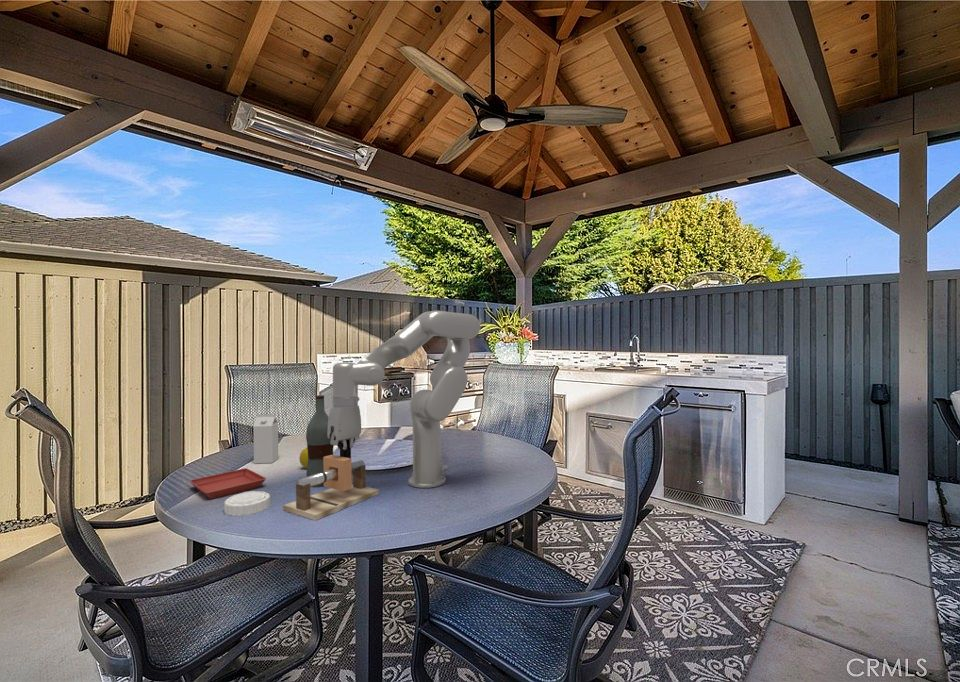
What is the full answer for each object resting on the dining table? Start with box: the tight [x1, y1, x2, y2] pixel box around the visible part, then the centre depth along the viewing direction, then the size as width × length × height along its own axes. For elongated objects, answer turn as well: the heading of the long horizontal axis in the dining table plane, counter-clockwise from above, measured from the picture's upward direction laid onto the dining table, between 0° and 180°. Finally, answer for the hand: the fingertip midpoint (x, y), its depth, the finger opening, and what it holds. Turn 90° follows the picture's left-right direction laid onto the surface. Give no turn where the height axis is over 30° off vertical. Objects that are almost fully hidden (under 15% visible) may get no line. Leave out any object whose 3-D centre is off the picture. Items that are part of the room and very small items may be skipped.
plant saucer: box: [189, 468, 267, 499], centre depth 150 cm, size 18×18×3 cm
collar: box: [323, 454, 353, 491], centre depth 138 cm, size 3×9×9 cm, turn 58°
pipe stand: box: [282, 465, 380, 522], centre depth 136 cm, size 24×14×8 cm, turn 148°
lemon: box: [299, 447, 308, 469], centre depth 172 cm, size 6×6×8 cm
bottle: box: [305, 394, 335, 488], centre depth 154 cm, size 9×9×30 cm
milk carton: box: [253, 413, 279, 465], centre depth 182 cm, size 7×7×19 cm
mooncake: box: [223, 490, 271, 517], centre depth 132 cm, size 12×12×4 cm
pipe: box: [296, 459, 366, 490], centre depth 136 cm, size 23×3×3 cm, turn 148°
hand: (345, 461), depth 140 cm, fingers closed
